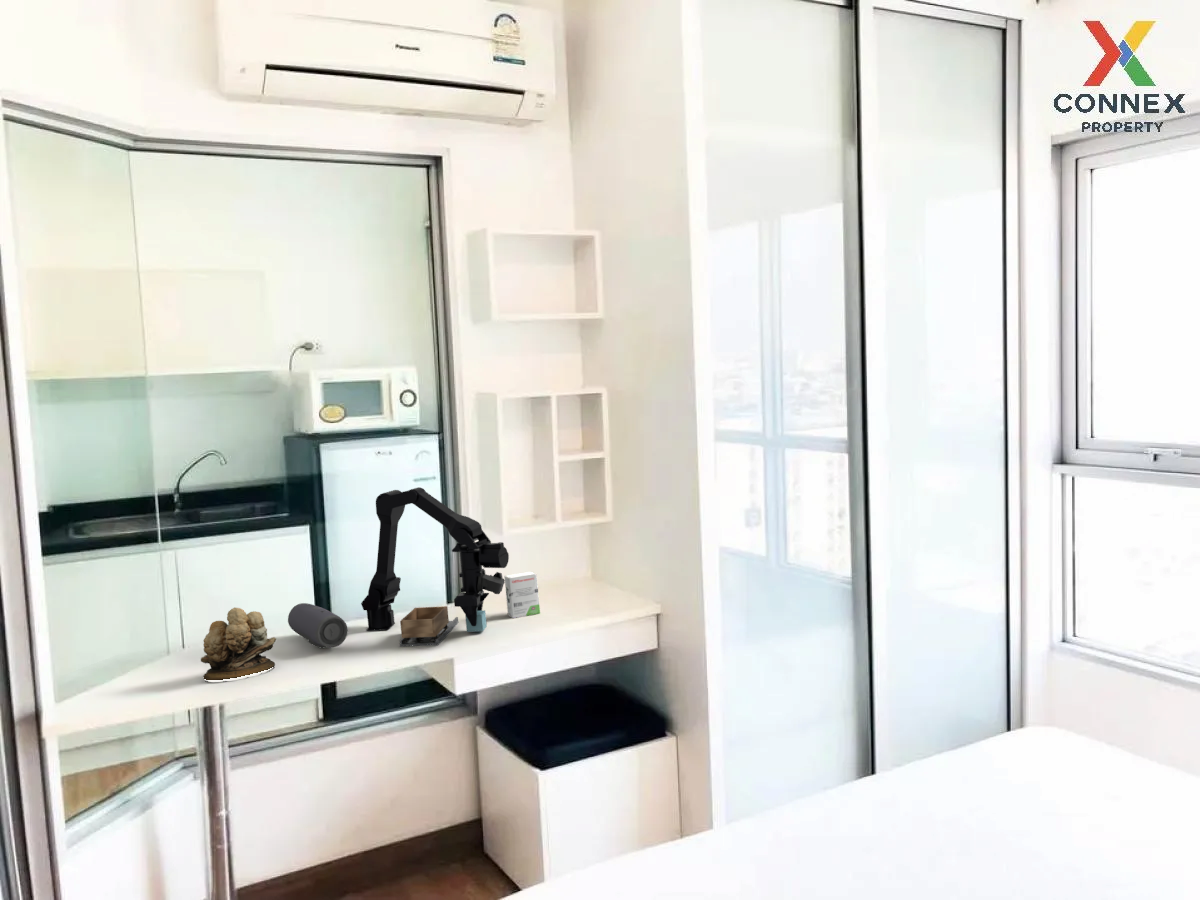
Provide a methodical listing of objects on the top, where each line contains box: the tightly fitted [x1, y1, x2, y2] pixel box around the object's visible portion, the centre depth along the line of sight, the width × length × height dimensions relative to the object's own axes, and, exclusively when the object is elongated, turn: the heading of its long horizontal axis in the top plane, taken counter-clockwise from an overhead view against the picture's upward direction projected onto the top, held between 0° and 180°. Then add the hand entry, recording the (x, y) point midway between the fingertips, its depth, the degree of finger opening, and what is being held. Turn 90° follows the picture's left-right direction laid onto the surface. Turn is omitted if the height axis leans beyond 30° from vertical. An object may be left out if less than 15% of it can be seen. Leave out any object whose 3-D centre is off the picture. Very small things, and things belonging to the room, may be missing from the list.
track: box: [399, 616, 459, 647], centre depth 265 cm, size 10×21×2 cm, turn 174°
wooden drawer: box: [399, 605, 450, 641], centre depth 261 cm, size 9×13×6 cm
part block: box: [464, 609, 487, 633], centre depth 264 cm, size 4×4×4 cm
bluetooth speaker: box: [287, 602, 349, 649], centre depth 264 cm, size 23×9×10 cm, turn 37°
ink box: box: [503, 571, 541, 619], centre depth 278 cm, size 9×5×12 cm, turn 112°
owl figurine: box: [200, 607, 277, 680], centre depth 242 cm, size 18×12×17 cm, turn 117°
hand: (476, 623), depth 264 cm, fingers closed on part block, 4 cm apart
